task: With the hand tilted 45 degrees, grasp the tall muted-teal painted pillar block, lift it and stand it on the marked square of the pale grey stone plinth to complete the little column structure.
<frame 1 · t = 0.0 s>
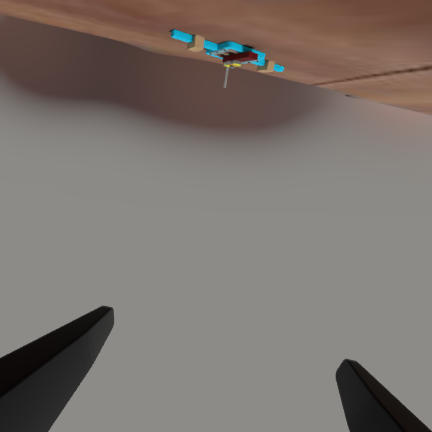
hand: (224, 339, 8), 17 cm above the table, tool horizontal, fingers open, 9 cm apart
gear mechanism: (238, 45, 34), on the table
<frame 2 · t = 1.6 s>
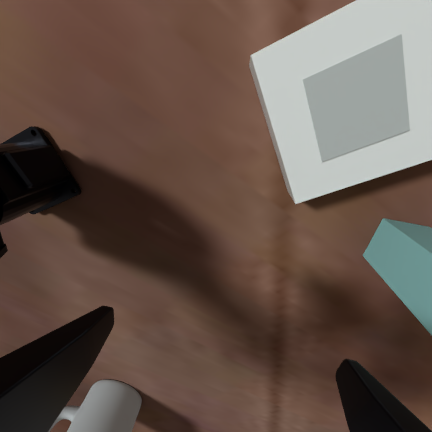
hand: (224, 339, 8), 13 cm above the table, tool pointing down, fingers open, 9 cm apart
pillar: (394, 241, 20), on the table
plinth: (337, 107, 16), on the table
mug: (107, 391, 36), on the table
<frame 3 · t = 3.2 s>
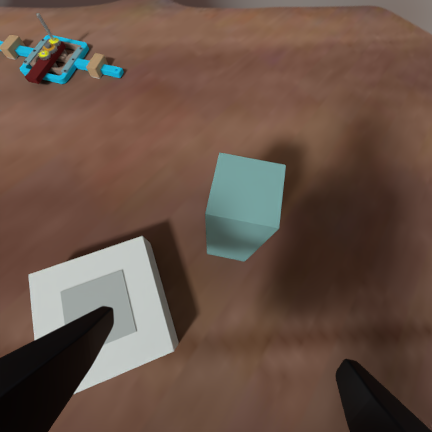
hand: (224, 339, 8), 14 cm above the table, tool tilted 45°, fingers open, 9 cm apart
pillar: (229, 239, 24), on the table
plinth: (112, 309, 21), on the table
gear mechanism: (57, 68, 32), on the table
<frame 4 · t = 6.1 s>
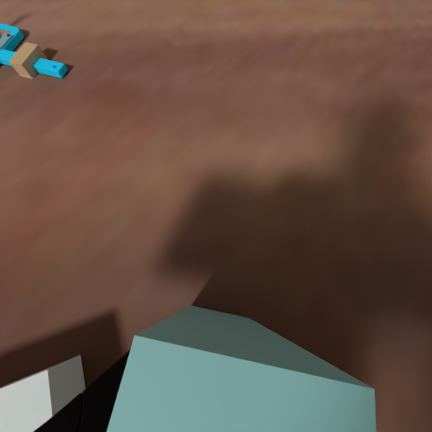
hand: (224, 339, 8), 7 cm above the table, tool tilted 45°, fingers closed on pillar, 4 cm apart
pillar: (213, 344, 14), on the table, touching gripper
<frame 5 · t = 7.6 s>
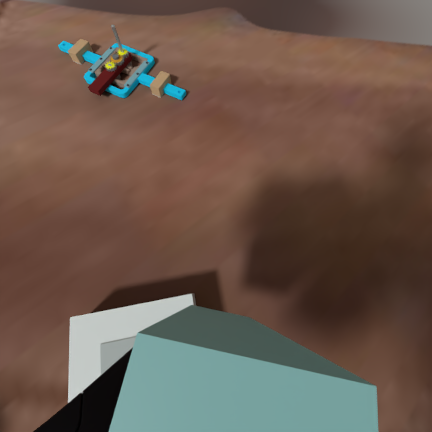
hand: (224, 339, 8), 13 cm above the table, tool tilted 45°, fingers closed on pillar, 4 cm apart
pillar: (214, 344, 14), point 7 cm above the table, touching gripper
plinth: (147, 362, 20), on the table
gear mechanism: (120, 79, 31), on the table
when the fingers open (10 cm above the table, at t = 9.1 s): pillar stays where it is, resting on plinth.
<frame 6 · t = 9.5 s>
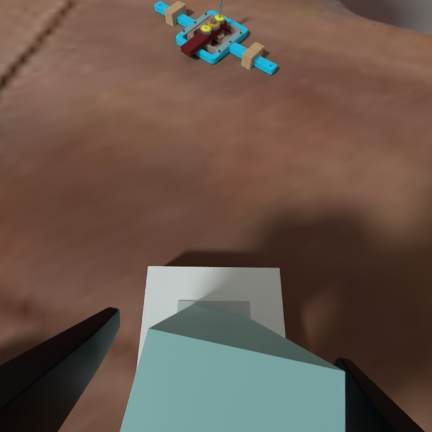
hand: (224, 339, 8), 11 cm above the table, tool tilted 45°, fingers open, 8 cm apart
pillar: (213, 341, 15), point 3 cm above the table, touching plinth
plinth: (212, 334, 18), on the table
gear mechanism: (208, 46, 30), on the table
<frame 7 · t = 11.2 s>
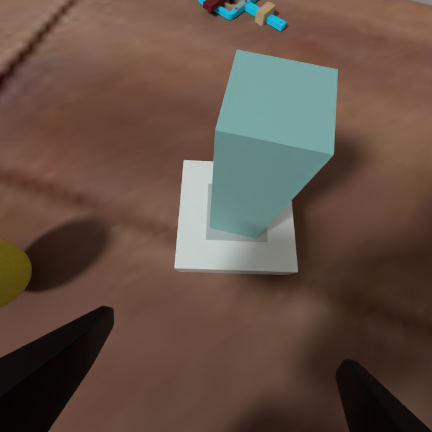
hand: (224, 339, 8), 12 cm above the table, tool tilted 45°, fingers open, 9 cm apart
lemon: (21, 278, 20), on the table
pillar: (236, 211, 19), point 3 cm above the table, touching plinth
plinth: (232, 222, 22), on the table
gear mechanism: (226, 6, 34), on the table
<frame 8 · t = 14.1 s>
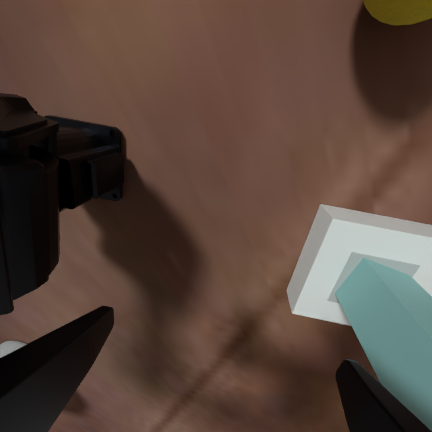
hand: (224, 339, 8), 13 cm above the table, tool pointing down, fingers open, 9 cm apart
pillar: (370, 284, 18), point 3 cm above the table, touching plinth
plinth: (354, 261, 21), on the table
mug: (16, 351, 35), on the table
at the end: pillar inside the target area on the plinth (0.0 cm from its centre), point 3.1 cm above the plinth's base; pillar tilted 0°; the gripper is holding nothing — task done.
